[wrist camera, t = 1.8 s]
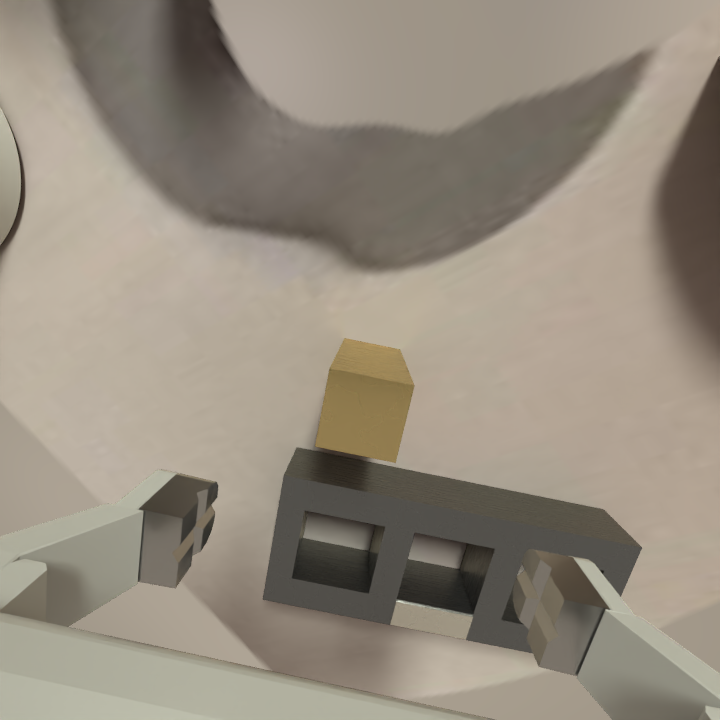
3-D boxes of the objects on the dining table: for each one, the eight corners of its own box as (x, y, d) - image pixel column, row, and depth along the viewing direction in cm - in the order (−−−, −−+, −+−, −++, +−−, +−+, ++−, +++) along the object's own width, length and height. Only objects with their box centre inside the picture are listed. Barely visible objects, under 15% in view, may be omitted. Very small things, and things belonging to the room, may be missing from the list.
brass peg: (334, 391, 26) (314, 446, 17) (344, 338, 25) (329, 368, 16) (387, 401, 26) (395, 462, 17) (400, 349, 25) (414, 385, 16)
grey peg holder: (277, 557, 29) (262, 600, 25) (296, 447, 27) (283, 476, 23) (561, 614, 29) (591, 666, 25) (603, 509, 27) (643, 548, 23)
